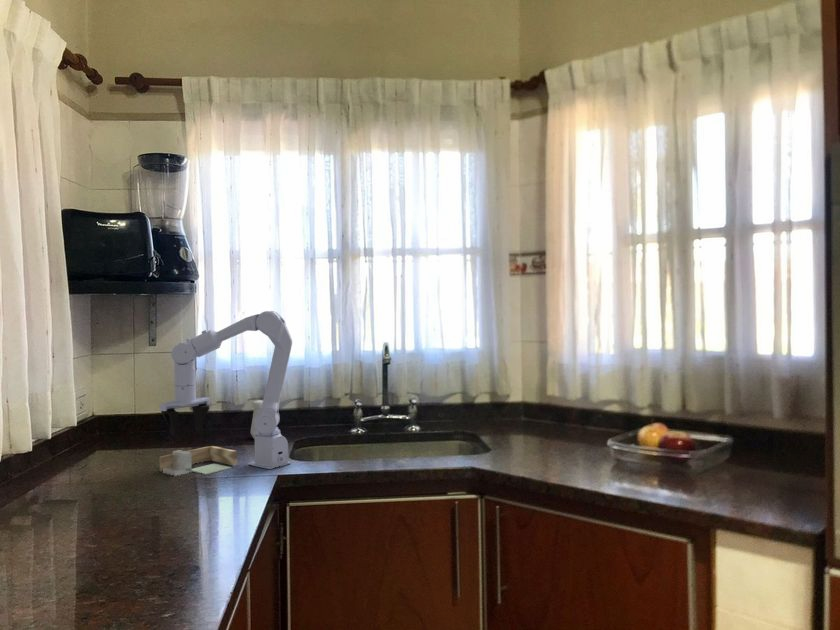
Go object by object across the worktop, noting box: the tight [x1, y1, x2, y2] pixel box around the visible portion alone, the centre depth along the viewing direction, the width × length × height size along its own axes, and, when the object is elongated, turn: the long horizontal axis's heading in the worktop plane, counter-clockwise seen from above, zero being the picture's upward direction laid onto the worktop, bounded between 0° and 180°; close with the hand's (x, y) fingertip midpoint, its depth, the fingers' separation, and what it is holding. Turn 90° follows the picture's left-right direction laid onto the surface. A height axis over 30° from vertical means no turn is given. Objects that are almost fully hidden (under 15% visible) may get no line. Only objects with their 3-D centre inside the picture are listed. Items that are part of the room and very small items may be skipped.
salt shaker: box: [250, 399, 263, 440], centre depth 217 cm, size 6×6×13 cm
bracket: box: [162, 449, 193, 477], centre depth 173 cm, size 6×5×6 cm
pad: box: [192, 463, 232, 476], centre depth 175 cm, size 8×8×1 cm
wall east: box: [158, 445, 212, 472], centre depth 180 cm, size 1×16×4 cm, turn 143°
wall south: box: [209, 445, 238, 466], centre depth 183 cm, size 12×1×4 cm, turn 52°
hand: (186, 433), depth 177 cm, fingers open, 7 cm apart
